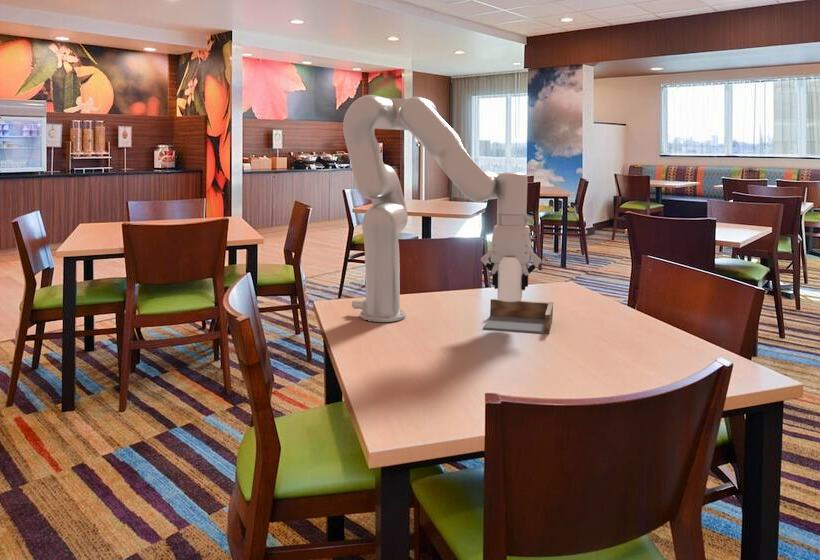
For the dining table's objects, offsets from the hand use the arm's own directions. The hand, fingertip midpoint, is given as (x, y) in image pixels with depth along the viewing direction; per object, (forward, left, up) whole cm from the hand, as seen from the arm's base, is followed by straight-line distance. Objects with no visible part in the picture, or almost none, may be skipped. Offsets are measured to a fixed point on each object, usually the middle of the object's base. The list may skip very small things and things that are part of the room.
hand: (510, 288), depth 176 cm
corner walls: (+2, +2, -10) cm, 11 cm away
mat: (+2, +2, -10) cm, 11 cm away
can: (0, 0, -3) cm, 3 cm away
